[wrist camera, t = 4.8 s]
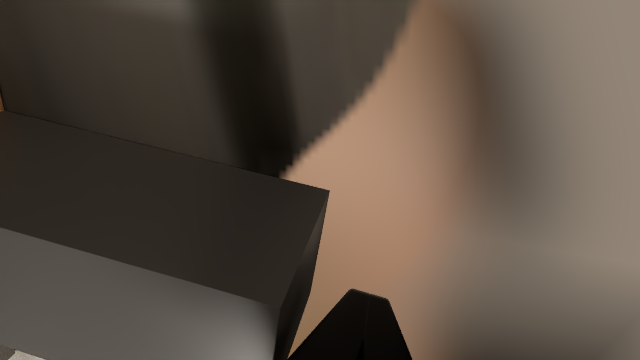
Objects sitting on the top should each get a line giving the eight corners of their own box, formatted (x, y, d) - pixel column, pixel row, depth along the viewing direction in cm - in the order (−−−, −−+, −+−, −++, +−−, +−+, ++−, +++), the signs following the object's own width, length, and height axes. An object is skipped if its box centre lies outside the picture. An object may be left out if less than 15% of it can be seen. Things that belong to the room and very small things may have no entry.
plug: (304, 320, 11) (247, 490, 7) (-84, 208, 12) (-288, 304, 9) (337, 148, 8) (276, 278, 5) (-152, 34, 10) (-472, 70, 6)
